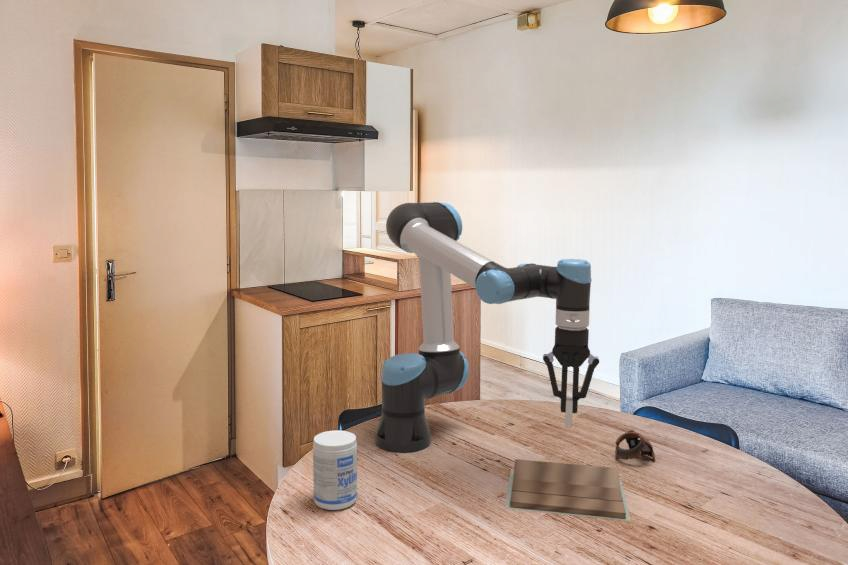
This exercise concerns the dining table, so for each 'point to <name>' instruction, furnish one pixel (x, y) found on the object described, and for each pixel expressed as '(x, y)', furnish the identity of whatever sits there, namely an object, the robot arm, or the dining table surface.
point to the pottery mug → (634, 446)
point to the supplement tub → (335, 469)
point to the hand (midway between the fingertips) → (568, 425)
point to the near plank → (567, 490)
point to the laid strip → (568, 504)
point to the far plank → (567, 473)
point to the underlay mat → (565, 512)
